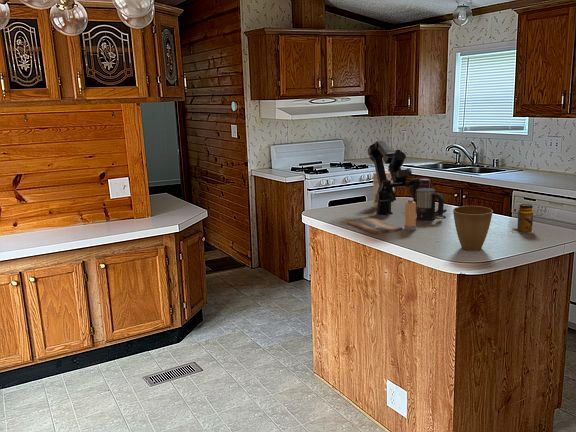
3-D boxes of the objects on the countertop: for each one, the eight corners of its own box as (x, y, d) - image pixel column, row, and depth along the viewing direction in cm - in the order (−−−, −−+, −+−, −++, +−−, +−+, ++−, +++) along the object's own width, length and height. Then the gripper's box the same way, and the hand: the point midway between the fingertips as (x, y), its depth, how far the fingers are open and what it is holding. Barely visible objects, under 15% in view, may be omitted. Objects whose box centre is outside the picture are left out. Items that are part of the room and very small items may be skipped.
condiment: (533, 233, 234) (535, 206, 231) (512, 232, 236) (514, 206, 234) (531, 229, 240) (533, 203, 238) (511, 228, 243) (512, 202, 240)
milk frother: (414, 220, 267) (414, 190, 264) (419, 213, 281) (419, 185, 278) (443, 221, 261) (444, 191, 258) (447, 214, 275) (448, 186, 272)
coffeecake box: (384, 208, 296) (384, 173, 291) (372, 207, 300) (372, 173, 295) (395, 203, 308) (395, 169, 304) (383, 202, 312) (383, 169, 307)
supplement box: (430, 207, 294) (430, 178, 290) (428, 209, 290) (429, 180, 286) (414, 206, 297) (414, 178, 294) (412, 208, 293) (412, 179, 290)
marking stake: (404, 228, 251) (404, 199, 248) (412, 228, 252) (412, 198, 249) (407, 230, 247) (408, 201, 244) (416, 230, 248) (416, 200, 245)
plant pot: (445, 245, 222) (446, 207, 218) (477, 241, 225) (478, 204, 221) (464, 255, 207) (465, 215, 204) (498, 251, 211) (500, 211, 207)
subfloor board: (373, 219, 272) (373, 217, 272) (402, 229, 249) (402, 227, 249) (347, 223, 266) (347, 221, 266) (374, 234, 244) (374, 232, 244)
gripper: (381, 164, 253) (390, 191, 245) (419, 161, 256) (428, 188, 248) (376, 178, 263) (384, 204, 254) (412, 175, 266) (421, 201, 257)
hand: (404, 199), depth 253 cm, fingers open, 9 cm apart
